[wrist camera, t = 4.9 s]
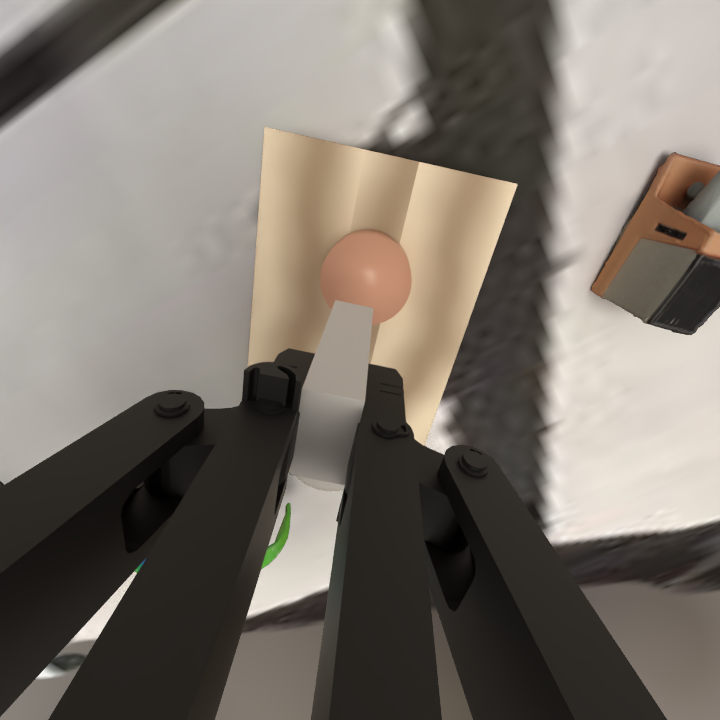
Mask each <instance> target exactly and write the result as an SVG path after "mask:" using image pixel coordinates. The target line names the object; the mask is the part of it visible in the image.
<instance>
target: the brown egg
mask: <svg viewBox="0 0 720 720" xmlns="http://www.w3.org/2000/svg"><path fill="white" fill-rule="evenodd" d="M411 284H412V277H411V270H410V265H409V260H408V257H407V255H406V253H405V251H404V249H403V248H402V246H401V245H400V244H399V243H398V242H397V241H396V240H395V239H394V238H393V237H391V236H389V235H388V234H386V233H383V232H381V231H377V230H371V229H364V230H358V231H354V232H351V233H349V234H347V235H345V236H344V237H342V238H341V239H340V240H339V241H338V242H337V243H336V244H335V245H334V246H333V248H332V249H331V251H330V252H329V254H328V255H327V256H326V258H325V260H324V262H323V265H322V268H321V273H320V286H321V291H322V294H323V297H324V299H325V301H326V303H327V304H328V306H329V307H330V308H331V310H332V308H333V305H334V303H335V300H338V301H342V302H347V303H352V304H356V305H361V306H366V307H371V308H373V319H372V325H375V324H379V323H382V322H385V321H387V320H389V319H391V318H392V317H394V316H395V315H396V314H397V313H398V312H399V311H400V310H401V309H402V308H403V306H404V305H405V303H406V302H407V300H408V297H409V294H410V291H411Z"/></svg>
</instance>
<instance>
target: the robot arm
mask: <svg viewBox="0 0 720 720" xmlns="http://www.w3.org/2000/svg"><path fill="white" fill-rule="evenodd" d="M372 319H373V308H371V307H366V306H361V305H356V304H352V303H347V302H342V301H338V300H335V303H334V305H333V308H332V311H331V313H330V316H329V318H328V321H327V324H326V326H325V329H324V332H323V334H322V337H321V340H320V342H319V345H318V348H317V350H316V353H310V352H305V351H300V350H295V349H290V348H288V349H286V350H284V351H283V352H281V353H279V354H278V355H277V357H276V359H275V360H274V362H260V363H256V364H253V365H250V366H249V367H248V368H246V369H245V370H244V381H243V396H242V401H241V403H240V405H239V406H237V407H233V408H224V409H204V402H203V400H202V399H201V398H200V397H199V396H197V395H196V394H194V393H191V392H187V391H182V390H168V391H163V392H158V393H155V394H153V395H151V396H148V397H146V398H145V399H143V400H142V401H140V402H138V403H137V404H135V405H133V406H132V407H130V408H129V409H127V410H125V411H124V412H122V413H120V414H119V415H117V416H116V417H114V418H112V419H111V420H109V421H107V422H106V423H104V424H103V425H101V426H99V427H98V428H96V429H94V430H93V431H91V432H90V433H88V434H86V435H85V436H83V437H82V438H80V439H78V440H77V441H75V442H73V443H72V444H70V445H69V446H67V447H65V448H64V449H62V450H60V451H59V452H57V453H56V454H54V455H52V456H51V457H49V458H47V459H46V460H44V461H43V462H41V463H39V464H38V465H36V466H34V467H33V468H31V469H30V470H28V471H26V472H25V473H23V474H21V475H20V476H18V477H17V478H15V479H13V480H12V481H10V482H9V483H7V484H5V485H4V486H2V485H1V484H0V716H1V715H2V714H3V713H4V712H5V711H6V710H7V709H8V708H9V707H10V706H11V704H12V703H13V702H14V701H15V700H16V699H17V698H18V697H19V696H20V695H21V694H22V693H23V691H24V690H25V689H26V688H27V687H28V686H29V685H30V684H31V683H32V682H33V681H34V680H35V678H36V677H37V676H38V675H39V674H40V673H41V672H42V671H43V670H44V669H45V668H46V667H47V665H48V664H49V663H50V662H51V661H52V660H53V659H54V658H55V657H56V656H57V655H58V653H59V652H60V651H61V650H62V649H63V648H64V647H65V646H66V645H67V644H68V643H69V642H70V640H71V639H72V638H73V637H74V636H75V635H76V634H77V633H78V632H79V631H80V630H81V628H82V627H83V626H84V625H85V624H86V623H87V622H88V621H89V620H90V619H91V618H92V617H93V615H94V614H95V613H96V612H97V611H98V610H99V609H100V608H101V607H102V606H103V605H104V603H105V602H106V601H107V600H108V599H109V598H110V597H111V596H112V595H113V594H114V593H115V592H116V590H117V589H118V588H119V587H120V586H121V585H122V584H123V583H124V582H125V581H126V580H127V578H128V577H129V576H130V575H131V574H132V573H133V572H134V571H135V570H136V569H137V568H138V567H139V565H140V564H141V563H142V562H143V561H144V560H145V559H146V560H145V561H144V563H143V565H142V566H141V568H140V569H139V571H138V573H137V574H136V576H135V578H134V579H133V581H132V583H131V584H130V586H129V588H128V589H127V591H126V593H125V594H124V596H123V597H122V599H121V601H120V602H119V604H118V606H117V607H116V609H115V611H114V612H113V614H112V616H111V617H110V619H109V621H108V622H107V624H106V625H105V627H104V629H103V630H102V632H101V634H100V635H99V637H98V639H97V640H96V642H95V644H94V645H93V647H92V649H91V650H90V652H89V654H88V655H87V657H86V658H85V660H84V662H83V663H82V665H81V667H80V668H79V670H78V672H77V673H76V675H75V677H74V678H73V680H72V682H71V683H70V685H69V687H68V688H67V690H66V692H65V693H64V695H63V696H62V698H61V700H60V701H59V703H58V705H57V706H56V708H55V710H54V711H53V713H52V714H51V716H50V718H49V720H215V717H216V714H217V711H218V707H219V704H220V701H221V698H222V695H223V691H224V688H225V685H226V681H227V678H228V675H229V672H230V668H231V665H232V662H233V659H234V655H235V652H236V649H237V646H238V642H239V639H240V636H241V633H242V629H243V626H244V623H245V620H246V616H247V613H248V610H249V607H250V603H251V600H252V597H253V594H254V590H255V587H256V584H257V581H258V577H259V574H260V571H261V568H262V564H263V561H264V558H265V555H266V551H267V548H268V545H269V541H270V538H271V535H272V532H273V528H274V525H275V522H276V519H277V515H278V512H279V509H280V506H281V502H282V499H283V496H284V493H285V488H286V482H287V475H288V472H289V469H290V472H289V475H294V476H299V477H304V478H310V479H315V480H320V481H325V482H330V483H335V484H340V485H345V487H344V491H343V495H342V499H341V503H340V507H339V512H338V516H337V520H336V521H337V522H338V527H337V535H336V542H335V549H334V556H333V563H332V571H331V578H330V585H329V592H328V600H327V607H326V614H325V621H324V628H323V636H322V643H321V650H320V658H319V665H318V672H317V679H316V687H315V693H314V701H313V708H312V715H311V720H442V717H441V707H440V696H439V686H438V676H437V665H436V655H435V645H434V635H433V625H432V614H431V604H430V594H429V587H430V590H431V593H432V596H433V599H434V602H435V605H436V608H437V611H438V614H439V617H440V620H441V623H442V626H443V629H444V632H445V635H446V638H447V641H448V645H449V647H450V651H451V654H452V657H453V659H454V662H455V666H456V669H457V672H458V675H459V678H460V681H461V684H462V687H463V690H464V693H465V696H466V699H467V702H468V706H469V708H470V712H471V715H472V718H473V720H667V719H666V717H665V716H664V714H663V713H662V711H661V710H660V708H659V707H658V705H657V704H656V702H655V701H654V699H653V698H652V696H651V695H650V693H649V692H648V690H647V689H646V687H645V686H644V684H643V683H642V681H641V680H640V678H639V676H638V675H637V674H636V672H635V670H634V669H633V668H632V666H631V665H630V663H629V661H628V660H627V658H626V657H625V655H624V654H623V652H622V651H621V649H620V648H619V646H618V645H617V643H616V642H615V640H614V639H613V638H612V636H611V634H610V633H609V631H608V630H607V628H606V627H605V625H604V624H603V622H602V621H601V619H600V618H599V616H598V615H597V613H596V612H595V610H594V609H593V607H592V606H591V604H590V603H589V601H588V600H587V598H586V597H585V595H584V594H583V592H582V591H581V589H580V588H579V586H578V585H577V583H576V582H575V580H574V579H573V577H572V575H571V574H570V572H569V571H568V569H567V568H566V566H565V565H564V563H563V562H562V560H561V559H560V557H559V556H558V554H557V553H556V551H555V550H554V548H553V547H552V545H551V544H550V542H549V541H548V539H547V538H546V536H545V535H544V533H543V532H542V530H541V529H540V527H539V526H538V524H537V523H536V521H535V520H534V518H533V517H532V515H531V514H530V512H529V511H528V509H527V508H526V506H525V505H524V503H523V502H522V500H521V499H520V497H519V496H518V494H517V493H516V491H515V490H514V488H513V487H512V485H511V484H510V482H509V481H508V479H507V477H506V476H505V474H504V473H503V471H502V470H501V468H500V467H499V465H498V464H497V463H496V462H495V461H494V460H493V459H492V458H491V457H490V456H488V455H487V454H485V453H484V452H483V451H480V450H478V449H476V448H473V447H470V446H464V445H457V446H452V447H450V448H448V449H447V450H446V452H445V455H443V454H441V453H439V452H436V451H434V450H432V449H429V448H427V447H426V446H424V445H422V444H421V443H419V442H418V441H416V440H415V439H414V433H413V430H412V428H411V427H410V425H409V424H408V423H407V422H406V414H405V401H404V389H403V378H402V377H401V375H400V374H399V373H398V371H397V370H396V369H393V368H388V367H383V366H379V365H374V364H369V352H370V341H371V330H372Z"/></svg>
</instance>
